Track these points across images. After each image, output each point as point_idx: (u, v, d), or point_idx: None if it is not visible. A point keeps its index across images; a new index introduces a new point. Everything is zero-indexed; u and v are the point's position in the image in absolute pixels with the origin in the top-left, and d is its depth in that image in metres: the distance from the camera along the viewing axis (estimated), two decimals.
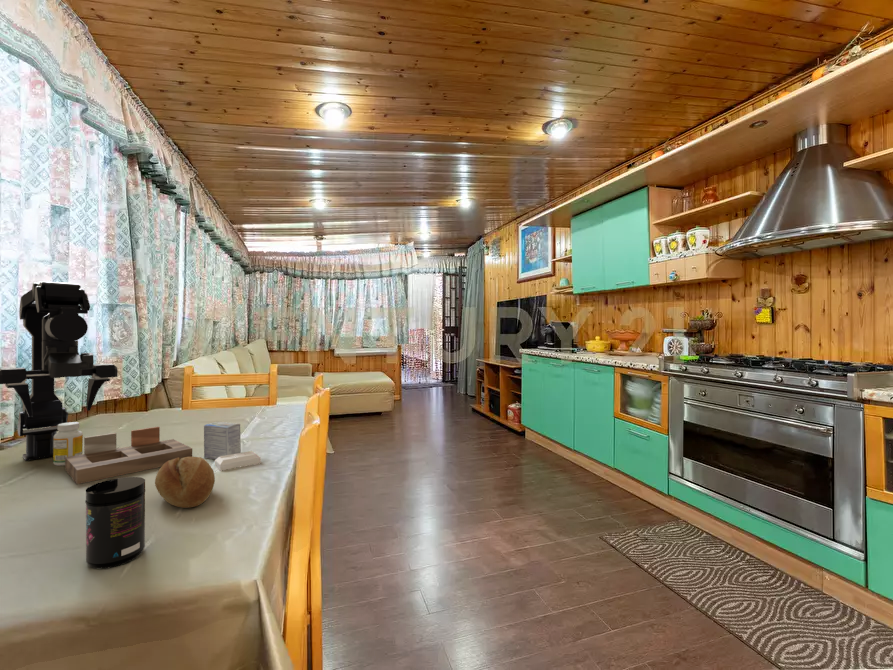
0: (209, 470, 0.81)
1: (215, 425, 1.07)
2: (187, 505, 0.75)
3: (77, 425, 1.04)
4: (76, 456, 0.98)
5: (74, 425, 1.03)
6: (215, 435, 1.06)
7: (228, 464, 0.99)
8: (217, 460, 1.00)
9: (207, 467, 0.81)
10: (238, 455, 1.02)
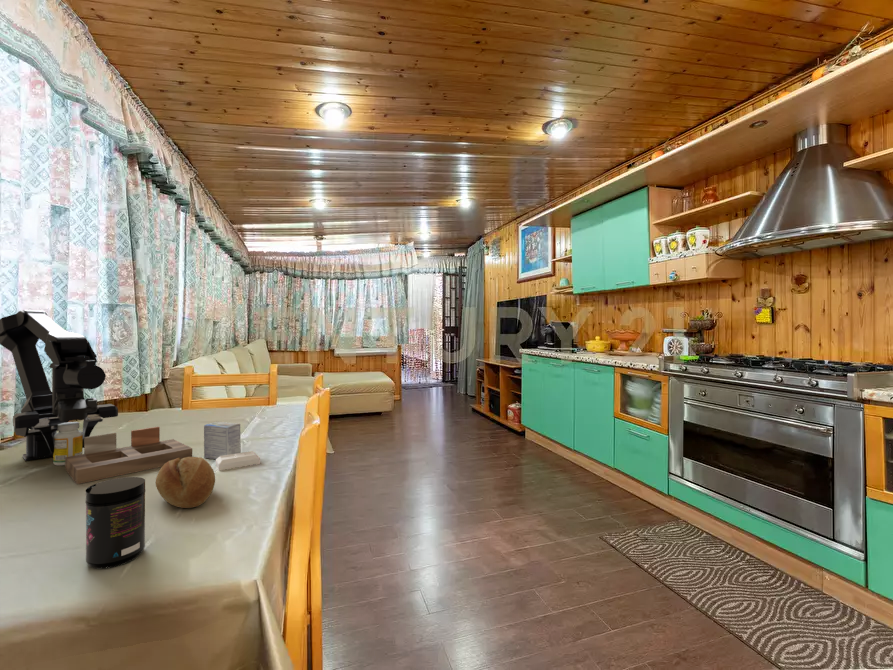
0: (209, 470, 0.81)
1: (215, 425, 1.07)
2: (188, 506, 0.75)
3: (77, 425, 1.04)
4: (76, 456, 0.98)
5: (74, 425, 1.03)
6: (215, 435, 1.06)
7: (226, 464, 0.99)
8: (217, 460, 1.01)
9: (207, 467, 0.81)
10: (238, 455, 1.02)
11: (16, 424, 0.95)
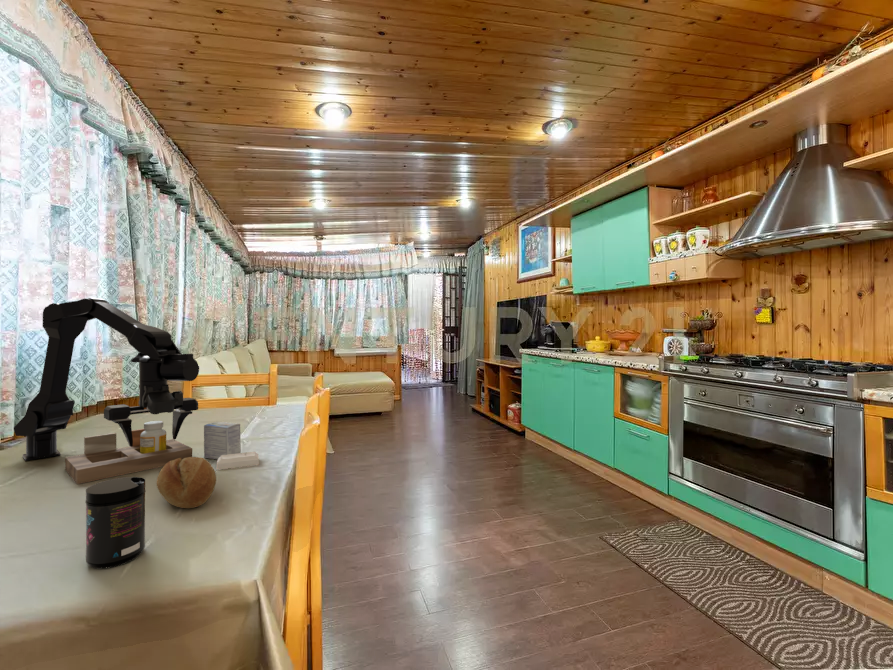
0: (210, 470, 0.80)
1: (215, 425, 1.07)
2: (188, 506, 0.75)
3: (162, 424, 1.05)
4: (76, 456, 0.98)
5: (159, 424, 1.05)
6: (215, 435, 1.06)
7: (224, 463, 0.99)
8: (218, 459, 1.01)
9: (208, 467, 0.81)
10: (238, 455, 1.02)
11: (110, 416, 0.96)
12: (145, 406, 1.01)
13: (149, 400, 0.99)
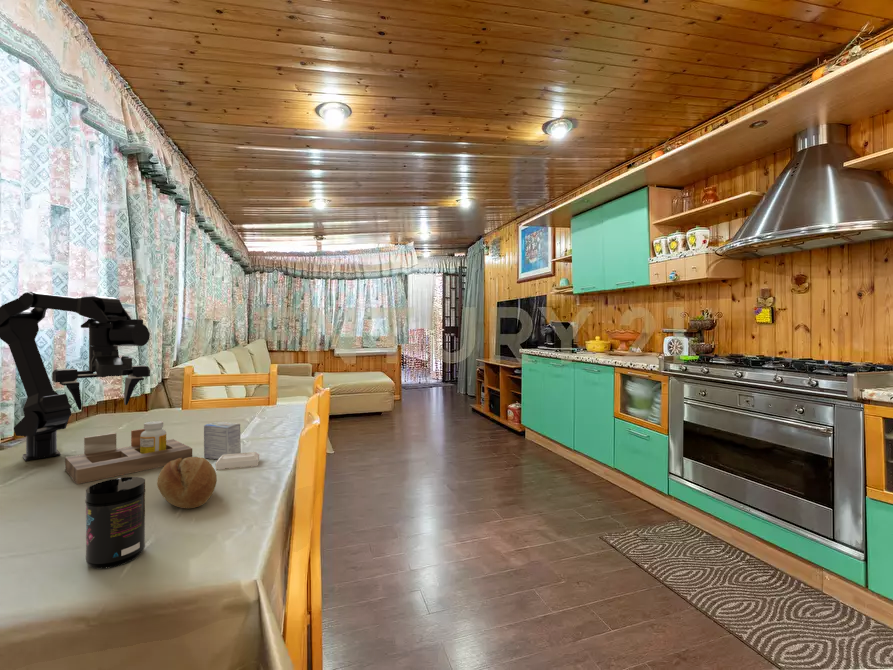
0: (211, 471, 0.80)
1: (215, 425, 1.07)
2: (189, 506, 0.75)
3: (162, 424, 1.05)
4: (76, 456, 0.98)
5: (159, 424, 1.05)
6: (215, 435, 1.06)
7: (223, 463, 0.99)
8: (219, 458, 1.02)
9: (209, 467, 0.80)
10: (238, 455, 1.02)
11: (57, 378, 0.98)
12: (93, 370, 1.03)
13: (96, 363, 1.01)
